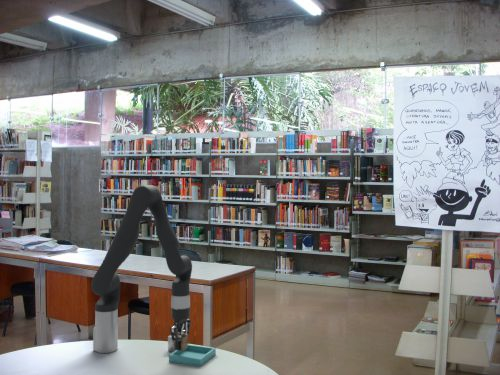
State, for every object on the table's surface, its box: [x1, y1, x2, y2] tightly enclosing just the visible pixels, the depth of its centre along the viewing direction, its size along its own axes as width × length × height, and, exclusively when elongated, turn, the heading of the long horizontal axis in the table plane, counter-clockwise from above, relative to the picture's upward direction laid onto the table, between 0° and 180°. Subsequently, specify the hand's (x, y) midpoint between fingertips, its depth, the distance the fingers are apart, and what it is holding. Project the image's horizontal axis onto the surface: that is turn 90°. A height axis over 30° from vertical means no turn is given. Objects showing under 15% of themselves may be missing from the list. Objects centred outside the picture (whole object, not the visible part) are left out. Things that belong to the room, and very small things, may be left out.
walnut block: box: [174, 334, 189, 351], centre depth 203 cm, size 4×4×5 cm
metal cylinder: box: [167, 334, 176, 353], centre depth 214 cm, size 4×4×6 cm
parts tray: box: [168, 344, 217, 367], centre depth 205 cm, size 14×14×3 cm
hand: (180, 348), depth 203 cm, fingers closed on walnut block, 4 cm apart
